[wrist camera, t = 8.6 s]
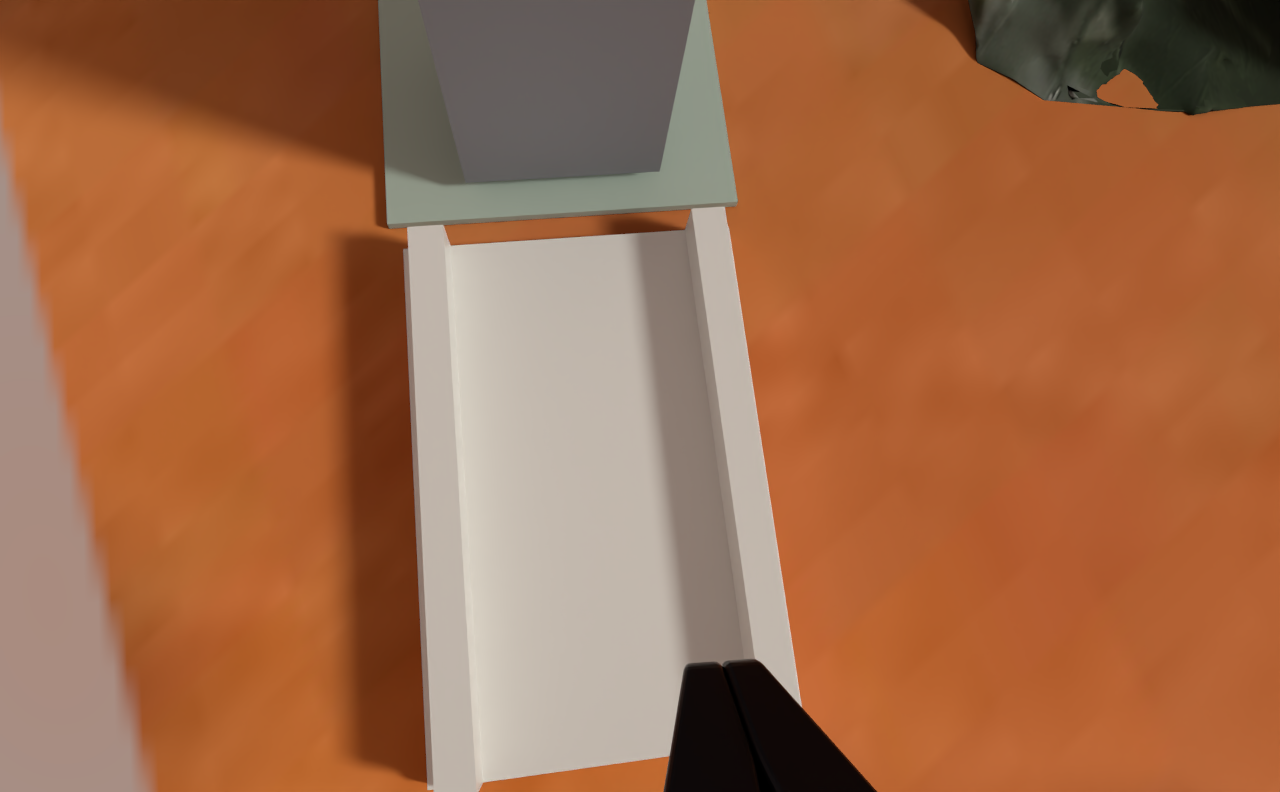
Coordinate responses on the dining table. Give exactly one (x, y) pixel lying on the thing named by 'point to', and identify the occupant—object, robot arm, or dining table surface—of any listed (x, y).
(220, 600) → the dining table surface
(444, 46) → the gray block
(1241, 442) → the dining table surface
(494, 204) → the sage mat
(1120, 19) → the rose bouquet
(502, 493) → the off-white chute
